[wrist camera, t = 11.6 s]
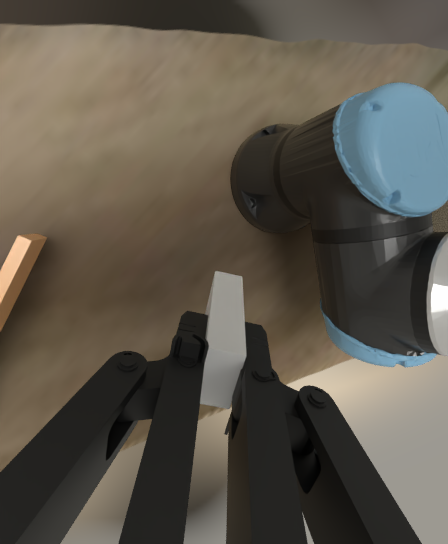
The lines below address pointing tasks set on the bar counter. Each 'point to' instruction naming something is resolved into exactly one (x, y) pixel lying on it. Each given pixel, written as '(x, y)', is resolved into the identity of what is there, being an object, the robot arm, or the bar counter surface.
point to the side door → (17, 271)
